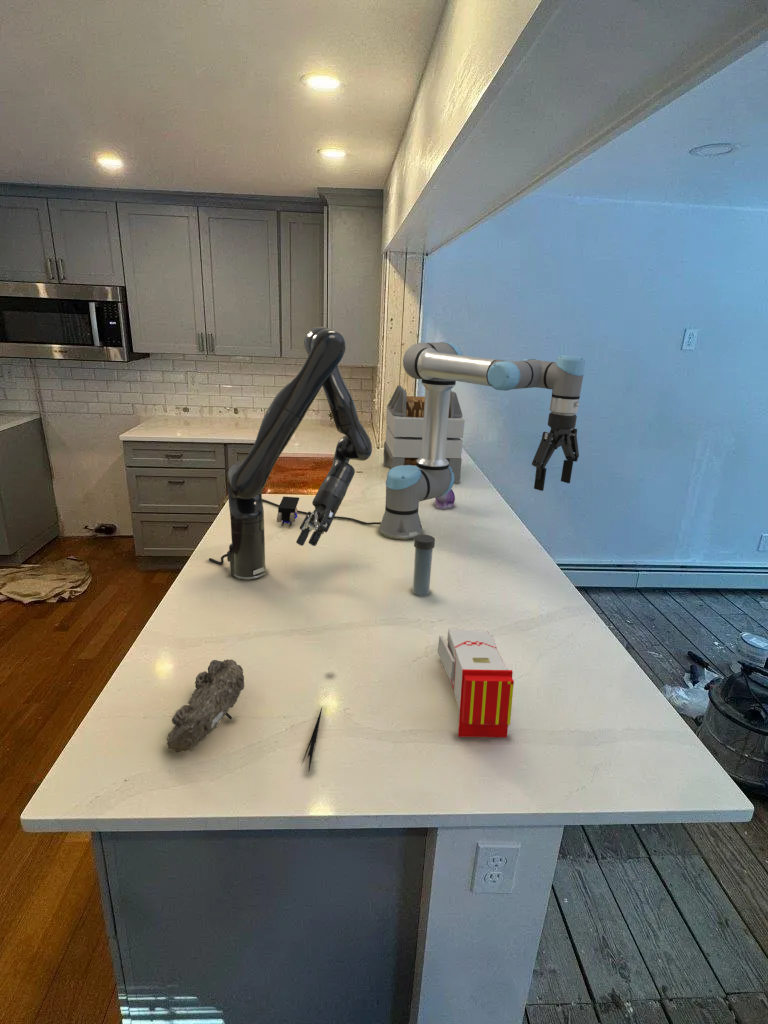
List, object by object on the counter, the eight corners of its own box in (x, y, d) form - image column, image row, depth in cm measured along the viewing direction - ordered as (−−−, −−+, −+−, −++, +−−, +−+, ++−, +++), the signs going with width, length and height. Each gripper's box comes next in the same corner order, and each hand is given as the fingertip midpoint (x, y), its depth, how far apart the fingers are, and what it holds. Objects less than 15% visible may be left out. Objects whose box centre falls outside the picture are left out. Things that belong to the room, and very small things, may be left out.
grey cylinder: (432, 591, 160) (436, 539, 155) (422, 597, 157) (426, 544, 151) (419, 586, 163) (422, 535, 157) (409, 592, 159) (412, 539, 154)
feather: (331, 679, 122) (336, 673, 122) (307, 777, 96) (313, 769, 95) (324, 675, 122) (329, 669, 121) (298, 772, 95) (304, 764, 95)
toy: (488, 613, 130) (523, 677, 101) (484, 667, 133) (517, 744, 104) (435, 612, 130) (455, 676, 101) (432, 666, 133) (451, 743, 103)
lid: (438, 545, 155) (439, 538, 155) (426, 551, 151) (427, 544, 150) (421, 540, 159) (422, 532, 158) (409, 545, 154) (410, 538, 154)
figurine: (441, 511, 224) (444, 474, 219) (427, 503, 232) (430, 467, 227) (461, 508, 228) (464, 472, 223) (447, 500, 237) (450, 465, 232)
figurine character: (295, 532, 200) (300, 513, 214) (294, 513, 197) (299, 495, 210) (276, 531, 200) (282, 512, 213) (275, 512, 197) (281, 494, 210)
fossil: (192, 660, 117) (244, 628, 112) (224, 691, 120) (276, 661, 115) (142, 746, 98) (202, 712, 93) (182, 779, 101) (242, 748, 96)
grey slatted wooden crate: (382, 463, 289) (386, 382, 275) (445, 464, 293) (451, 384, 279) (390, 482, 257) (394, 392, 243) (460, 483, 261) (468, 394, 247)
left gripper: (309, 490, 168) (284, 538, 163) (331, 486, 156) (304, 538, 151) (329, 503, 171) (305, 550, 166) (352, 500, 159) (327, 551, 154)
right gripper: (548, 419, 148) (537, 496, 155) (598, 411, 163) (586, 482, 171) (525, 414, 153) (515, 489, 160) (575, 407, 169) (564, 476, 176)
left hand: (305, 544), depth 159 cm, fingers open, 8 cm apart
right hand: (552, 485), depth 166 cm, fingers open, 13 cm apart
